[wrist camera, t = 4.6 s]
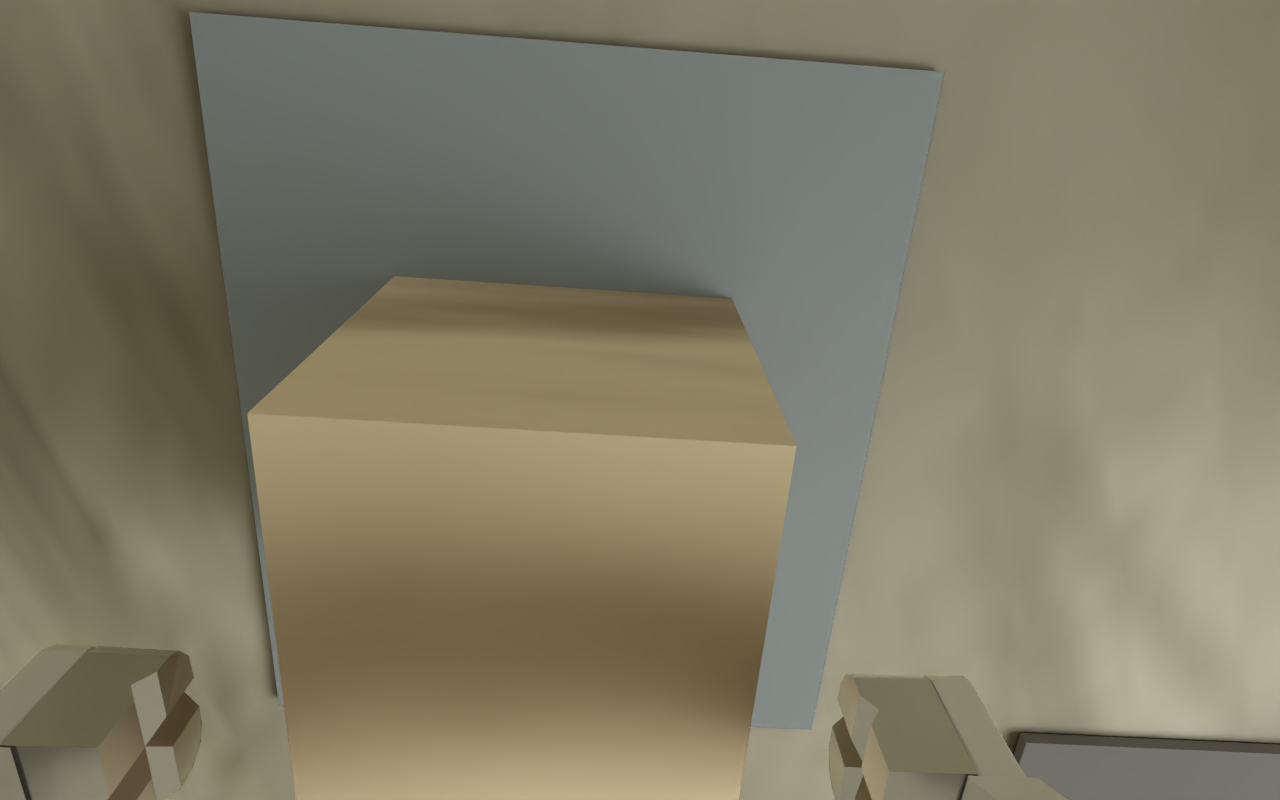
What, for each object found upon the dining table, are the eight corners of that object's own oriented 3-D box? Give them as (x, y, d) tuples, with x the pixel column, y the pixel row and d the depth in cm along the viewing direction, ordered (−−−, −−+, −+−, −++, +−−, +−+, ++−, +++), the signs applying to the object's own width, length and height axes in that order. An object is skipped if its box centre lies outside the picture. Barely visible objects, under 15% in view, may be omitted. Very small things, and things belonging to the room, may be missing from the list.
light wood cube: (394, 275, 14) (246, 413, 9) (731, 298, 14) (796, 446, 9) (407, 562, 17) (297, 813, 11) (698, 577, 17) (732, 831, 11)
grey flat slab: (194, 13, 13) (188, 11, 13) (940, 71, 13) (944, 72, 13) (282, 699, 18) (278, 706, 18) (809, 723, 19) (811, 730, 18)
